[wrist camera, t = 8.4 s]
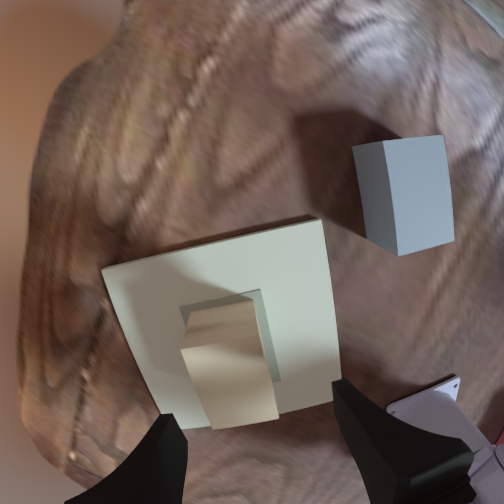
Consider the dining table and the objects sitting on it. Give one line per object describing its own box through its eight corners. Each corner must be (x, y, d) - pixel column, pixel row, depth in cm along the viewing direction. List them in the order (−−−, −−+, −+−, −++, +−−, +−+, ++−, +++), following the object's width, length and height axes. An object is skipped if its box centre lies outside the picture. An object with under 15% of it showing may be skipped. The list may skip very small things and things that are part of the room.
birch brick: (271, 375, 21) (279, 418, 17) (215, 385, 21) (212, 429, 17) (253, 299, 19) (259, 334, 15) (190, 312, 19) (180, 349, 15)
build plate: (340, 393, 23) (343, 398, 22) (171, 425, 23) (169, 430, 22) (318, 218, 19) (321, 219, 18) (104, 267, 19) (100, 270, 18)
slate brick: (415, 226, 20) (454, 240, 15) (366, 238, 20) (398, 256, 15) (403, 139, 18) (442, 135, 14) (351, 146, 18) (382, 140, 14)
